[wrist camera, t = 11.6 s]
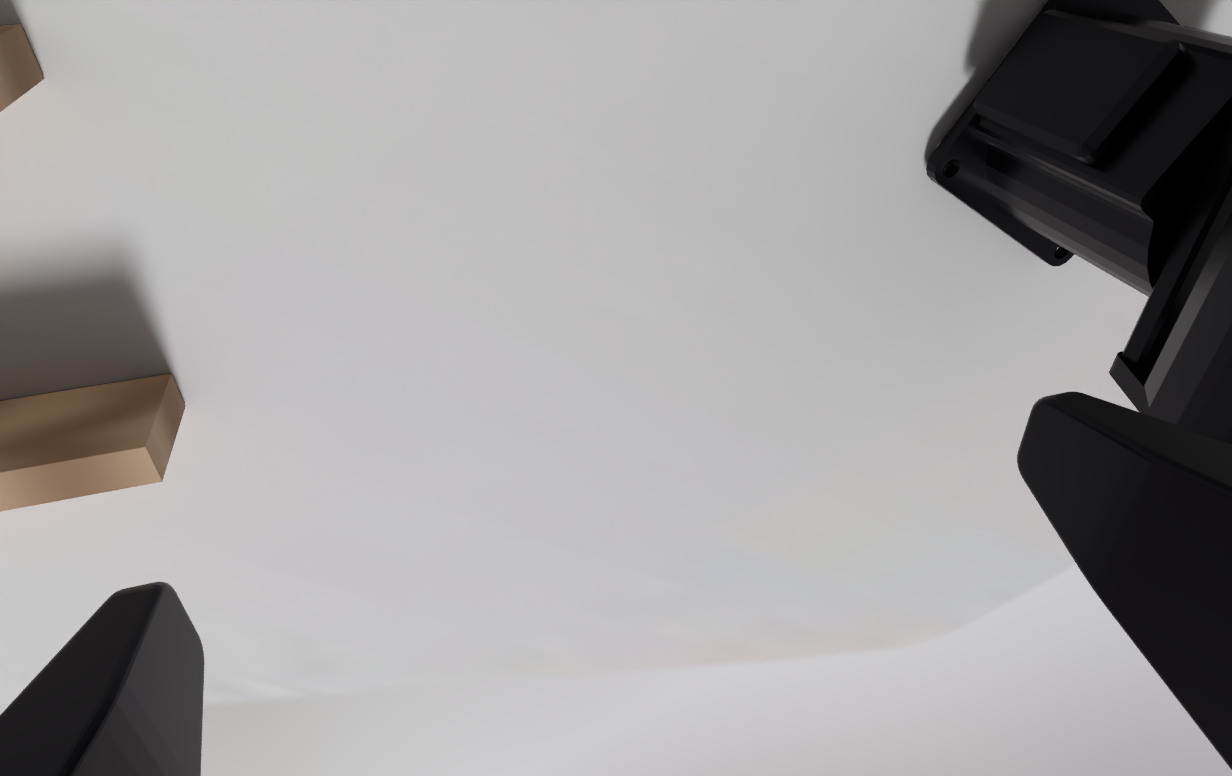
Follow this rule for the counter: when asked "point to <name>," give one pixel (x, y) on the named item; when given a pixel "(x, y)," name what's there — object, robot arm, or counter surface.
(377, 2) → the counter surface
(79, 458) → the wooden u-shaped frame
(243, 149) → the counter surface
